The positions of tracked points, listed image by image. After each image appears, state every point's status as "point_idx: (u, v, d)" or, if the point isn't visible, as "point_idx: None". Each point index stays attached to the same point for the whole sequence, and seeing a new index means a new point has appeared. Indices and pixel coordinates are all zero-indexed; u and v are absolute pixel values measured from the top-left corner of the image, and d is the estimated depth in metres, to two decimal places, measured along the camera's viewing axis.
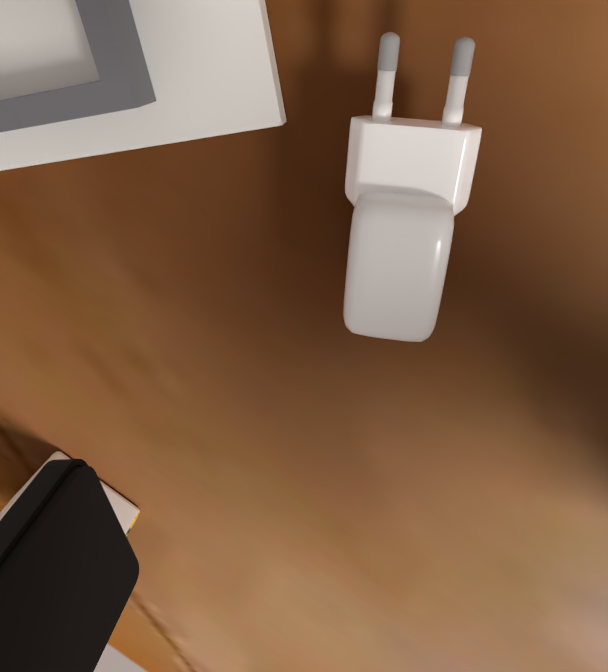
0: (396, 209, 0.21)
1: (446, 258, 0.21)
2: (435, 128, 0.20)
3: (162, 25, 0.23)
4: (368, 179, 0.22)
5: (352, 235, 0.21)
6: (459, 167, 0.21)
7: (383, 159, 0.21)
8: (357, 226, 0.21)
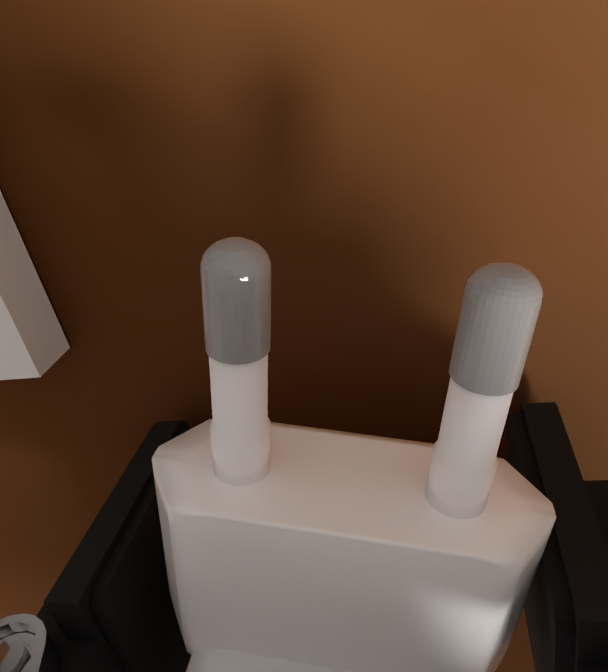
0: None
1: None
2: (404, 544, 0.06)
3: None
4: (212, 627, 0.07)
5: None
6: (486, 636, 0.06)
7: (247, 596, 0.07)
8: None
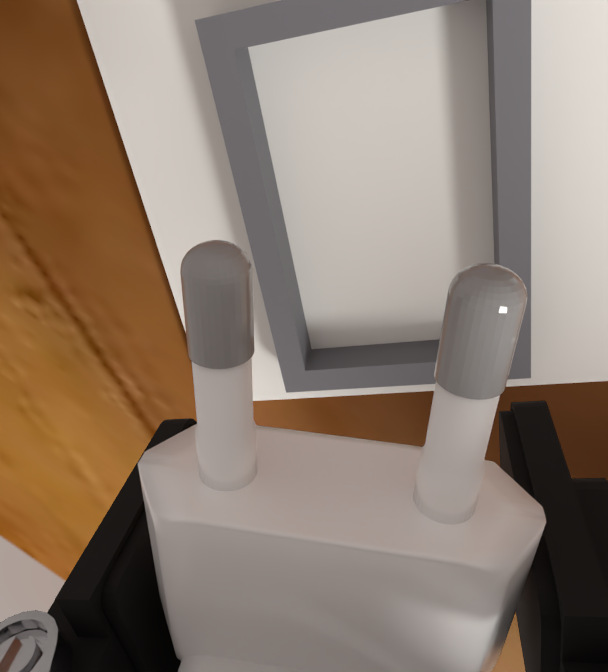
0: None
1: None
2: (391, 549, 0.06)
3: (550, 301, 0.26)
4: (201, 634, 0.07)
5: None
6: (476, 642, 0.06)
7: (234, 602, 0.07)
8: None
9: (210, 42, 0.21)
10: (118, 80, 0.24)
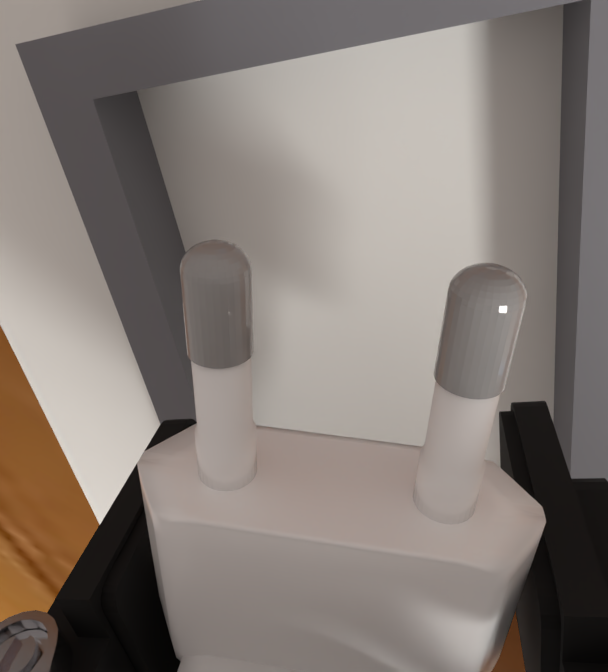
0: None
1: None
2: (390, 549, 0.06)
3: None
4: (200, 634, 0.07)
5: None
6: (476, 643, 0.06)
7: (234, 602, 0.07)
8: None
9: (49, 85, 0.11)
10: None
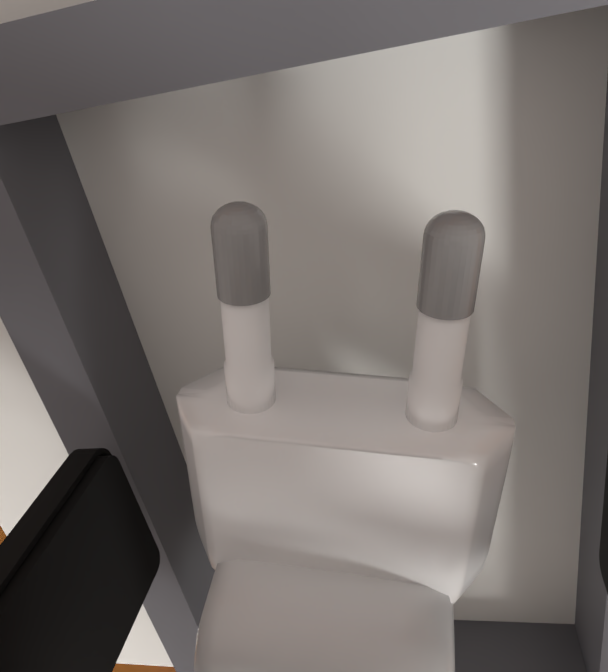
0: (294, 667, 0.08)
1: None
2: (386, 450, 0.07)
3: None
4: (232, 540, 0.09)
5: None
6: (461, 531, 0.08)
7: (260, 507, 0.08)
8: None
9: None
10: None
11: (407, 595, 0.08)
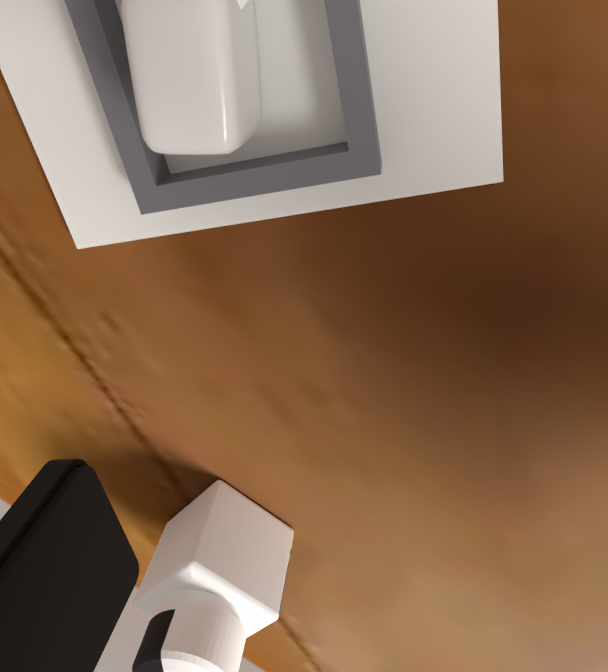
0: None
1: (225, 42, 0.19)
2: None
3: (399, 95, 0.25)
4: None
5: (123, 28, 0.20)
6: None
7: None
8: (124, 13, 0.19)
9: None
10: None
11: None
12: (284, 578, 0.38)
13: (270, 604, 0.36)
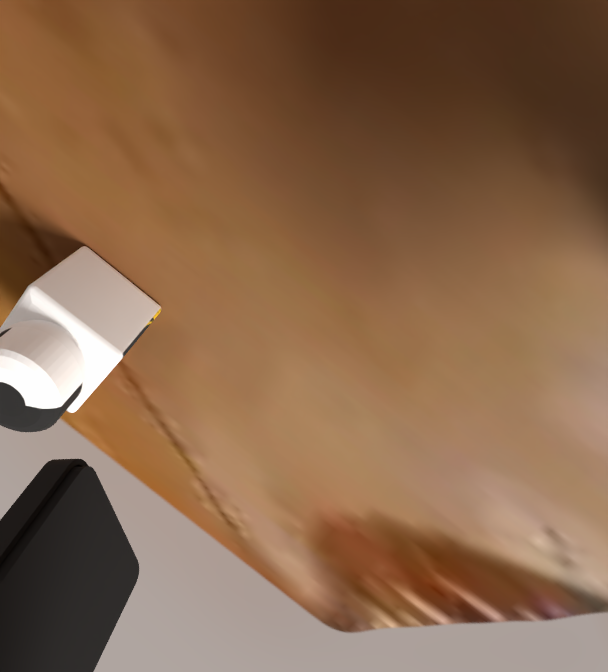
0: None
1: None
2: None
3: None
4: None
5: None
6: None
7: None
8: None
9: None
10: None
11: None
12: (137, 333, 0.39)
13: (114, 343, 0.37)
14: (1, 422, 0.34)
